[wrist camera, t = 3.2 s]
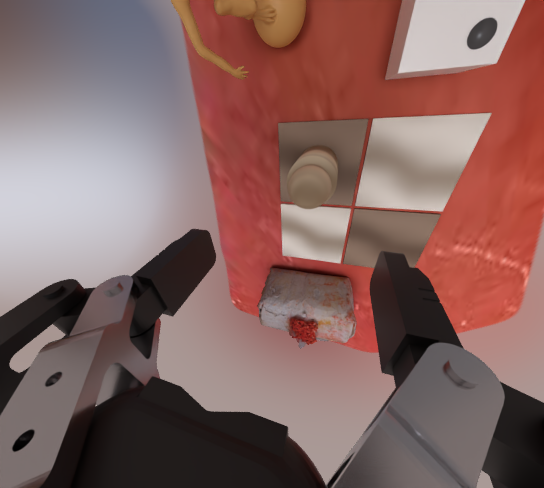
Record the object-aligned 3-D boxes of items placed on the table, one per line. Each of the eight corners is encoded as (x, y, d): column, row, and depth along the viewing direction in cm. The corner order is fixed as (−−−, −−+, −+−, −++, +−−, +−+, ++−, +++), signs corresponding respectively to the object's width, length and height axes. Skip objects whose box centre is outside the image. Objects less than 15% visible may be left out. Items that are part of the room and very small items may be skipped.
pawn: (297, 145, 21) (277, 165, 14) (341, 144, 19) (340, 166, 13) (297, 185, 23) (279, 218, 17) (335, 187, 22) (332, 223, 16)
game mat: (278, 123, 20) (278, 123, 20) (490, 112, 15) (491, 112, 15) (282, 254, 30) (282, 255, 30) (411, 272, 26) (411, 273, 26)
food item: (358, 272, 28) (364, 335, 21) (350, 306, 33) (352, 368, 25) (270, 260, 32) (247, 310, 24) (273, 292, 37) (255, 342, 29)
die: (405, -15, 13) (431, -64, 9) (496, -34, 12) (571, -99, 8) (384, 79, 16) (398, 73, 12) (456, 73, 15) (497, 63, 11)
